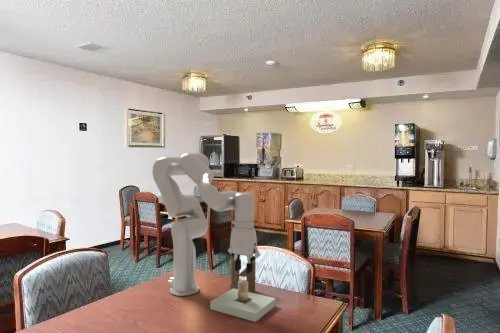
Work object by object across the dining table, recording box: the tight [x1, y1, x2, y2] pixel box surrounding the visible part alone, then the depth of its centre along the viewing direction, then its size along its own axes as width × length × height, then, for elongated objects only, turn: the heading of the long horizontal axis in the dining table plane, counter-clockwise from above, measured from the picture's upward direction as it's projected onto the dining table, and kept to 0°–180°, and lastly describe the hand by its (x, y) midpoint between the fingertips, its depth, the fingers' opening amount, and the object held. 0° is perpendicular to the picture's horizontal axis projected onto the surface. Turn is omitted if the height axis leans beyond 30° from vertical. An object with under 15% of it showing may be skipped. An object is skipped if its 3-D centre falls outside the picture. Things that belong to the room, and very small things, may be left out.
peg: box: [238, 279, 248, 304], centre depth 135 cm, size 4×4×10 cm
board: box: [210, 288, 277, 323], centre depth 135 cm, size 20×16×3 cm
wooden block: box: [229, 254, 257, 294], centre depth 152 cm, size 4×11×18 cm, turn 84°
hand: (243, 270), depth 135 cm, fingers open, 4 cm apart
